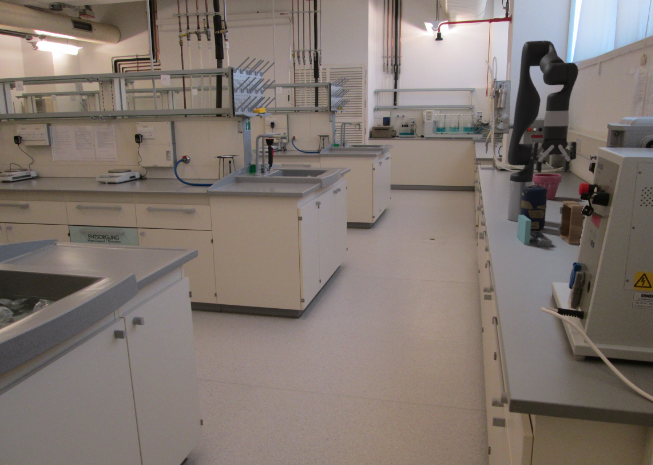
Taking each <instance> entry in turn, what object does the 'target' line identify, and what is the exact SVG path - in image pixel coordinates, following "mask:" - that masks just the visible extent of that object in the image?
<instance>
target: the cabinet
mask: <svg viewBox="0 0 653 465" xmlns="http://www.w3.org/2000/svg"><path fill="white" fill-rule="evenodd" d="M584 206H585V205H583V204H582V203H580V202H576V201H575V200H562V206H560V207H559V214H560V216H561V220H560V224H558V228H557V232H559V238H560V239H561V240H562V241H564V242H566V243H567V244H568V245H580V244H579V243H580V238H581V239H582V237H581V234H582V233H583V224H584V216H585V215H584V216H583V215H582V213H581V212H582V209H583V207H584ZM584 208H585V207H584Z"/></svg>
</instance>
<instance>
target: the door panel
mask: <svg viewBox="0 0 653 465" xmlns="http://www.w3.org/2000/svg"><path fill="white" fill-rule="evenodd" d="M530 228H531V220H530V219H528V218H527V217H526V216H524V215H519V216H518V221H517V232H516V239H517V240H518V241H519V242H521V243H522V244H523V245H525V246H526V245H527V246H528V245H530V242H531V240H530V231H531V229H530Z"/></svg>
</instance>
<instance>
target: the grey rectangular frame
mask: <svg viewBox="0 0 653 465" xmlns="http://www.w3.org/2000/svg"><path fill="white" fill-rule="evenodd" d="M530 242H532V244H534V245H535V246H536V247H552V244H553V240H552V239H550V238H549V237H547V236H546V235H545V234H544V233H543V232H541V231H538V230H537V231H534V230H530Z"/></svg>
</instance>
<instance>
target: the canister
mask: <svg viewBox="0 0 653 465" xmlns="http://www.w3.org/2000/svg"><path fill="white" fill-rule="evenodd" d="M547 202H548V199H547V189H546V188H545V187H541V186H539V185H535V184H532V186H528V187H524V188H523V189H522V200H521V215H524V216H526V217H527V218H528V219H530V220H531V228H530V230H533V231H534V230H542V229H544V228H545V224H546V214H547V207H548V206H547Z"/></svg>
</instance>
